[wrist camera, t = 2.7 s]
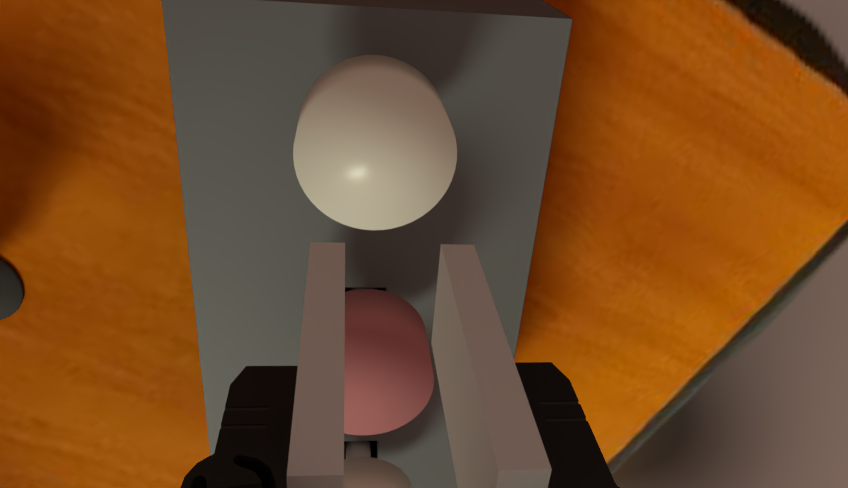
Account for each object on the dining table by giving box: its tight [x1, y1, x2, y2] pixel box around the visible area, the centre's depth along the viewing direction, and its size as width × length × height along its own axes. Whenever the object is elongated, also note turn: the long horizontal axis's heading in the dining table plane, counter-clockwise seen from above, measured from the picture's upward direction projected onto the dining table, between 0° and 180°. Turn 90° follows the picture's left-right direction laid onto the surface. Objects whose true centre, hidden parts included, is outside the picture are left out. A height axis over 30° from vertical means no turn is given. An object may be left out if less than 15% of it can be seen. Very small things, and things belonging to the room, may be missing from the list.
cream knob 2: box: [344, 441, 412, 488], centre depth 36 cm, size 6×6×8 cm
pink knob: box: [344, 287, 434, 435], centre depth 31 cm, size 6×6×8 cm
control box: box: [162, 0, 572, 488], centre depth 36 cm, size 16×28×8 cm, turn 176°
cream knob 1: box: [293, 55, 457, 230], centre depth 26 cm, size 6×6×8 cm
